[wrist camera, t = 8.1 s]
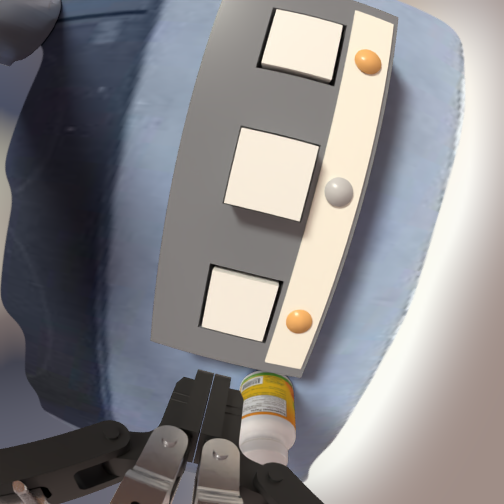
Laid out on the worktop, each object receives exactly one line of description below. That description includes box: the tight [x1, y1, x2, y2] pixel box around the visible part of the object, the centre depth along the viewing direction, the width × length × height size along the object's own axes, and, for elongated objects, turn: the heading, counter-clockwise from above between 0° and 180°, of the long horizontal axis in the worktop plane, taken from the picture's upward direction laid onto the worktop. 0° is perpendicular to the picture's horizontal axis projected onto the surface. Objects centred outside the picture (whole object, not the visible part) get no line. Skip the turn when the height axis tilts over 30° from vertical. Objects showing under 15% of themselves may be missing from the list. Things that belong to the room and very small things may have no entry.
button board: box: [151, 0, 398, 378], centre depth 20 cm, size 28×12×5 cm, turn 167°
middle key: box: [224, 128, 319, 221], centre depth 18 cm, size 4×4×3 cm
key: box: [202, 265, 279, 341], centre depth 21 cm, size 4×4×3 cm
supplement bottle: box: [239, 370, 296, 466], centre depth 24 cm, size 5×5×10 cm
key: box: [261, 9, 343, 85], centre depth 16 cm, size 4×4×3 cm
